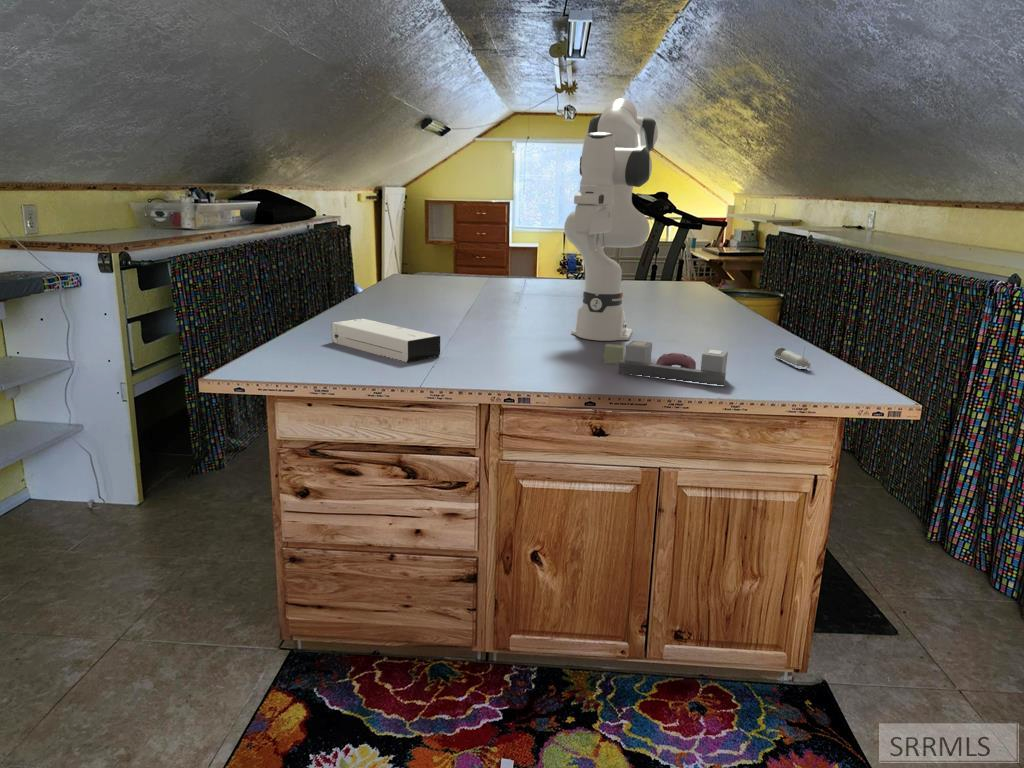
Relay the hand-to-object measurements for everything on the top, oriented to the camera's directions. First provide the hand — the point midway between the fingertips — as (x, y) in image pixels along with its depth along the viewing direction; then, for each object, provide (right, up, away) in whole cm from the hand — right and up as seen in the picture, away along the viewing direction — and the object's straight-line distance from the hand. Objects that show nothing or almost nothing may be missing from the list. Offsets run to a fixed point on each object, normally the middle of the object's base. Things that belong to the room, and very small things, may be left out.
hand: (593, 250), depth 195 cm
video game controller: (+19, -34, -10) cm, 40 cm away
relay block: (+6, -30, +4) cm, 30 cm away
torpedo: (+55, -31, +6) cm, 64 cm away
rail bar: (+18, -34, -14) cm, 41 cm away
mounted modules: (+19, -33, -10) cm, 40 cm away
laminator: (-58, -26, +10) cm, 64 cm away
